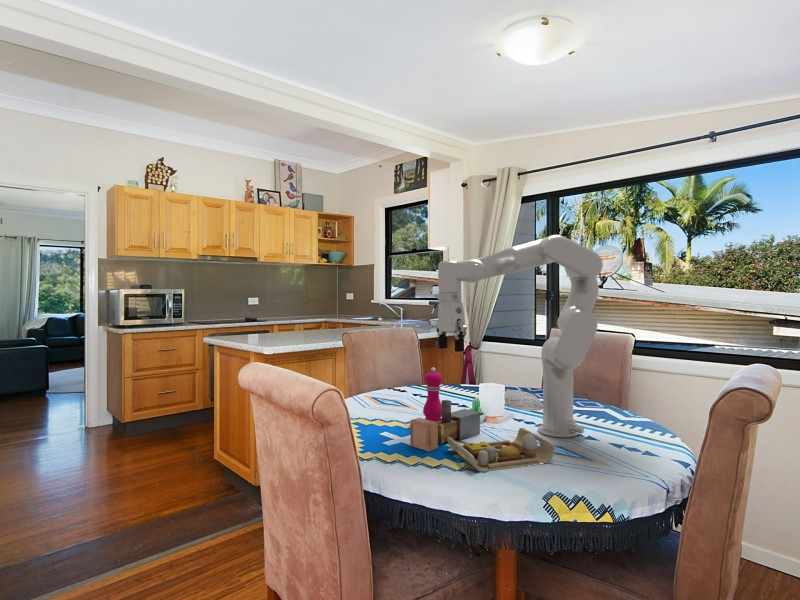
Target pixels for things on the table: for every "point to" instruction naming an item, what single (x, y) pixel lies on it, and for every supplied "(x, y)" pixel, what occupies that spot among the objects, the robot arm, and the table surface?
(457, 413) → the sleeve
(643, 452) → the table surface
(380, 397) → the table surface
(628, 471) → the table surface
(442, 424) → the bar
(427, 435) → the brown block
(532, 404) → the grey carved stone
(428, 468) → the table surface
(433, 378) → the pepper mill
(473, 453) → the toy food set
